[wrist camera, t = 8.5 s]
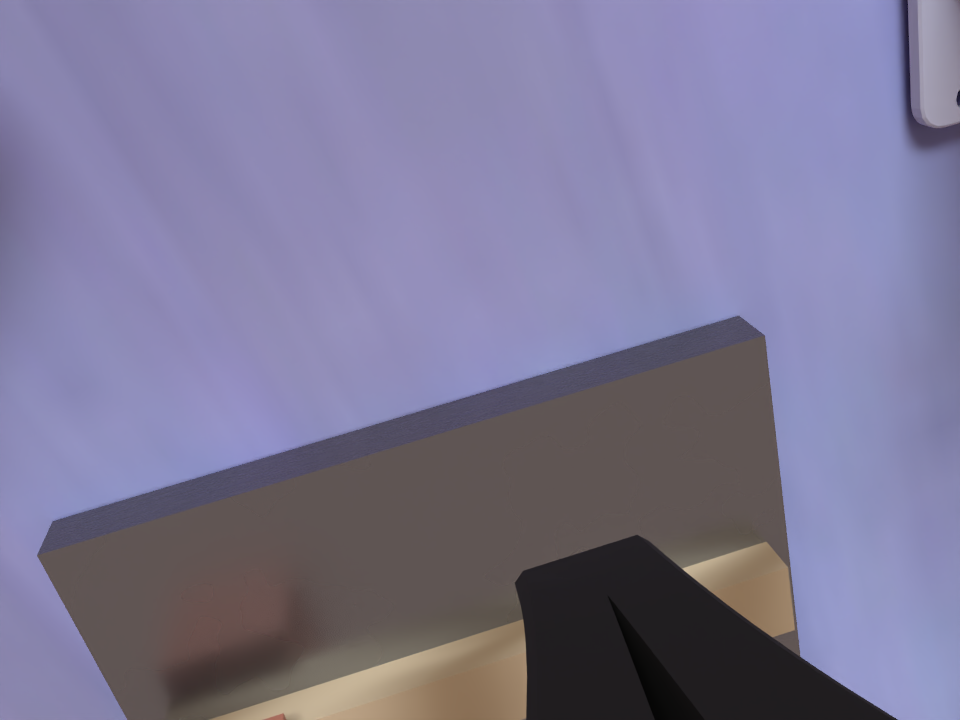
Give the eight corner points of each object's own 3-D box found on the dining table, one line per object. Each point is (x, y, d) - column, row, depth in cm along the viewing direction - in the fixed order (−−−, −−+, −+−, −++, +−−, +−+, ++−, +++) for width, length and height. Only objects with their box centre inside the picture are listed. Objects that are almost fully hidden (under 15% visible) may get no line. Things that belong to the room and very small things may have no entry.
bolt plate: (738, 316, 19) (767, 336, 18) (793, 763, 25) (817, 802, 24) (52, 521, 18) (35, 557, 17) (274, 940, 24) (273, 989, 23)
